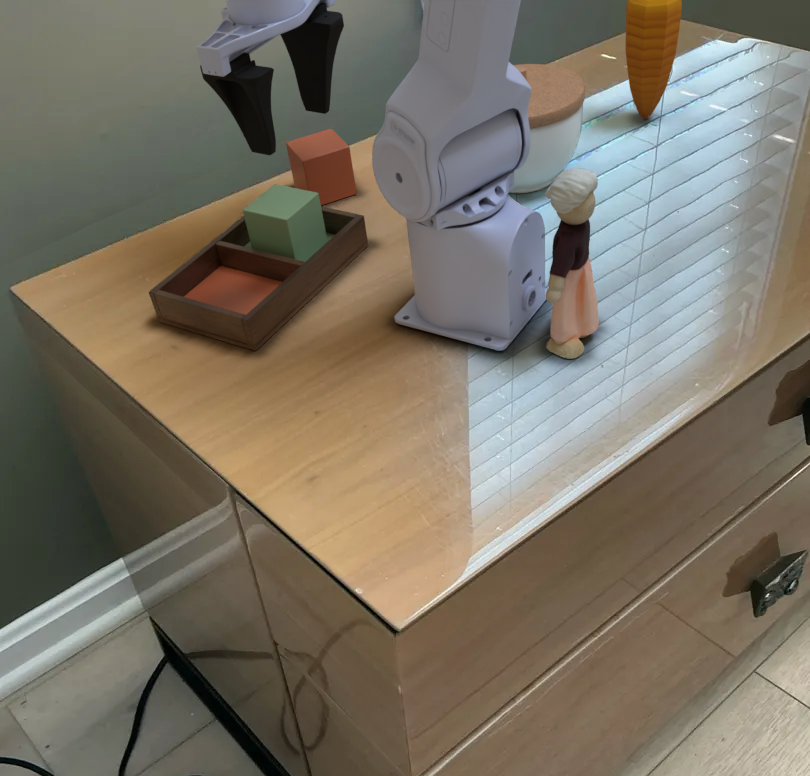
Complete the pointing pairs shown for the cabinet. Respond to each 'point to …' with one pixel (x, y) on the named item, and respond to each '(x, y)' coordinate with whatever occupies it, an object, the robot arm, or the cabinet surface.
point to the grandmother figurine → (572, 263)
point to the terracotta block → (322, 165)
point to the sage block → (286, 222)
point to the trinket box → (550, 124)
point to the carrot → (650, 49)
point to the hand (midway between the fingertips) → (291, 130)
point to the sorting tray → (253, 282)
